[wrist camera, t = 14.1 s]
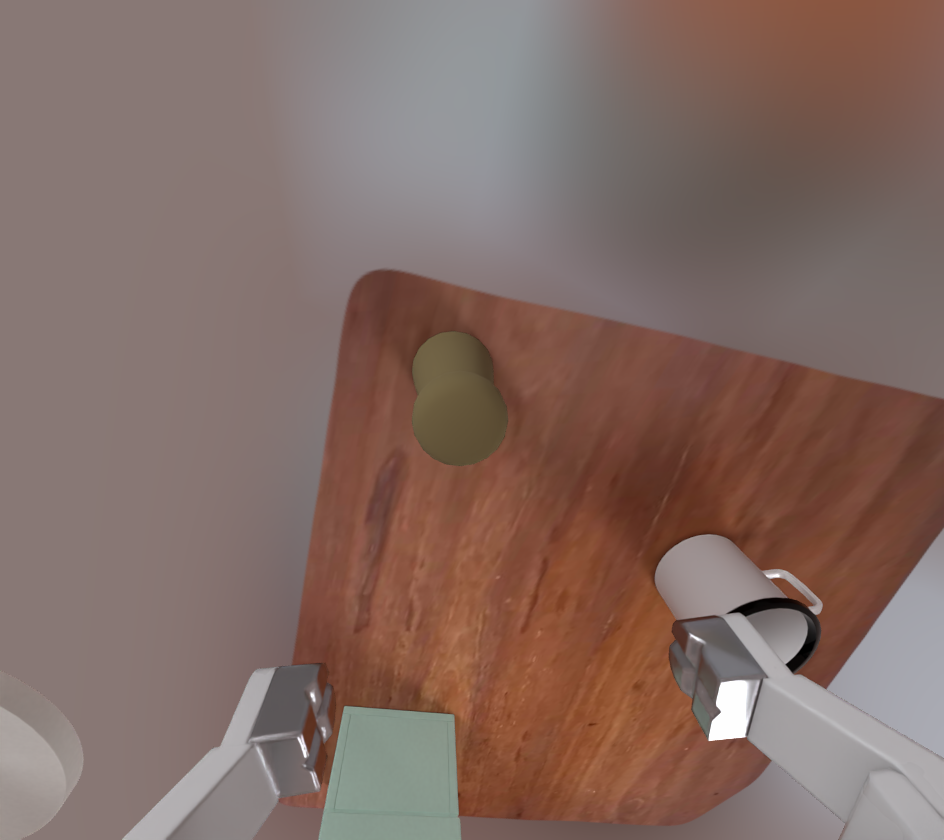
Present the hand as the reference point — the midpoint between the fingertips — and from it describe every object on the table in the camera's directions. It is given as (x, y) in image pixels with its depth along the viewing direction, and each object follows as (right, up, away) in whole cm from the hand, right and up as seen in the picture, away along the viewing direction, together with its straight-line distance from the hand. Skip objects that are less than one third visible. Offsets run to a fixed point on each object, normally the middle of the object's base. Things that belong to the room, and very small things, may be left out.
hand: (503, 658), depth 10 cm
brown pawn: (-2, +9, +22) cm, 24 cm away
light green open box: (-10, -31, +38) cm, 50 cm away
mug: (+22, -8, +32) cm, 39 cm away
